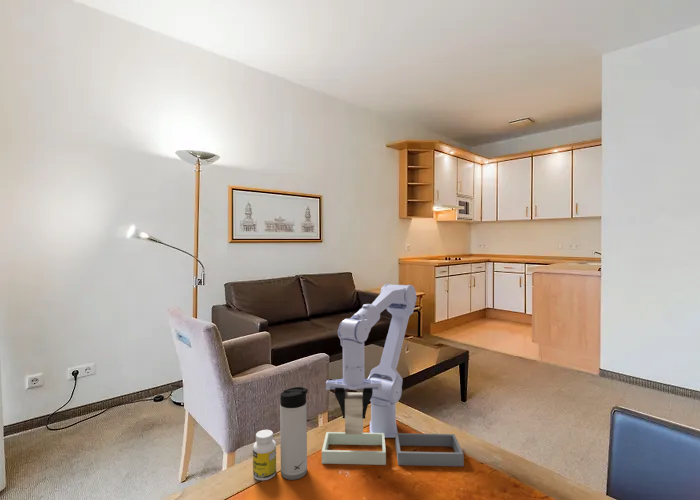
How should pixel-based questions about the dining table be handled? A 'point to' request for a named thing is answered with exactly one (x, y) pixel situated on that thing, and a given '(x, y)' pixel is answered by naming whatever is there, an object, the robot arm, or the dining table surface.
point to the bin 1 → (354, 456)
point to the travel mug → (293, 433)
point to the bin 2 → (428, 457)
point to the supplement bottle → (264, 455)
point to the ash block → (353, 413)
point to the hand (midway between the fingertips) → (354, 416)
